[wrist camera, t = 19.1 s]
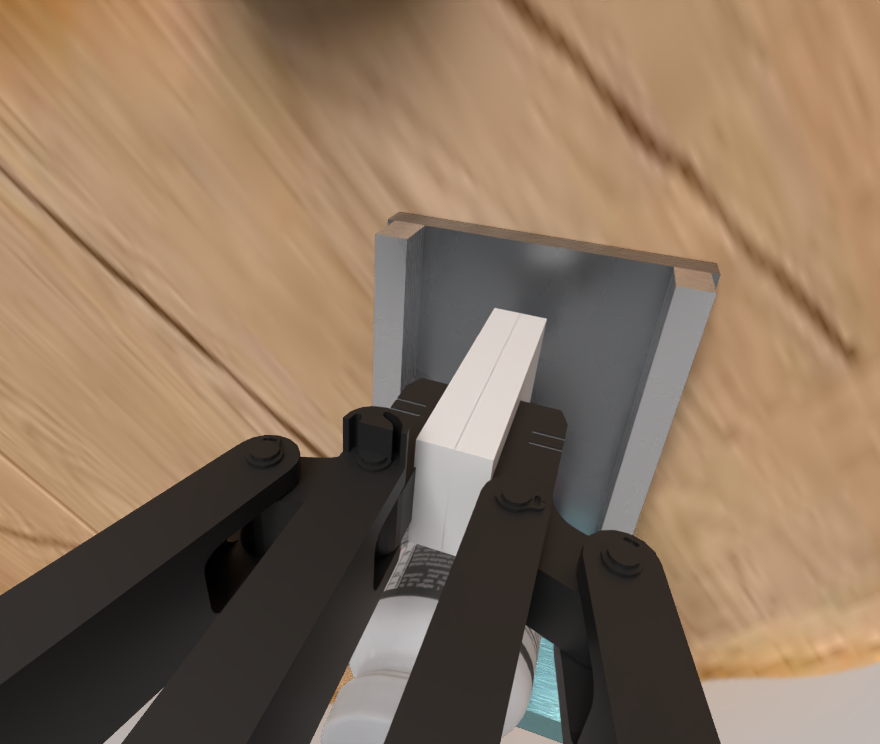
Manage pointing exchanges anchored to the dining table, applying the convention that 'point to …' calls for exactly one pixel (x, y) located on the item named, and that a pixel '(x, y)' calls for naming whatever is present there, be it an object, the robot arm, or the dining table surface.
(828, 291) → the dining table surface
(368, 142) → the dining table surface
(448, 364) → the grey tray holder
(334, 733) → the pill bottle
